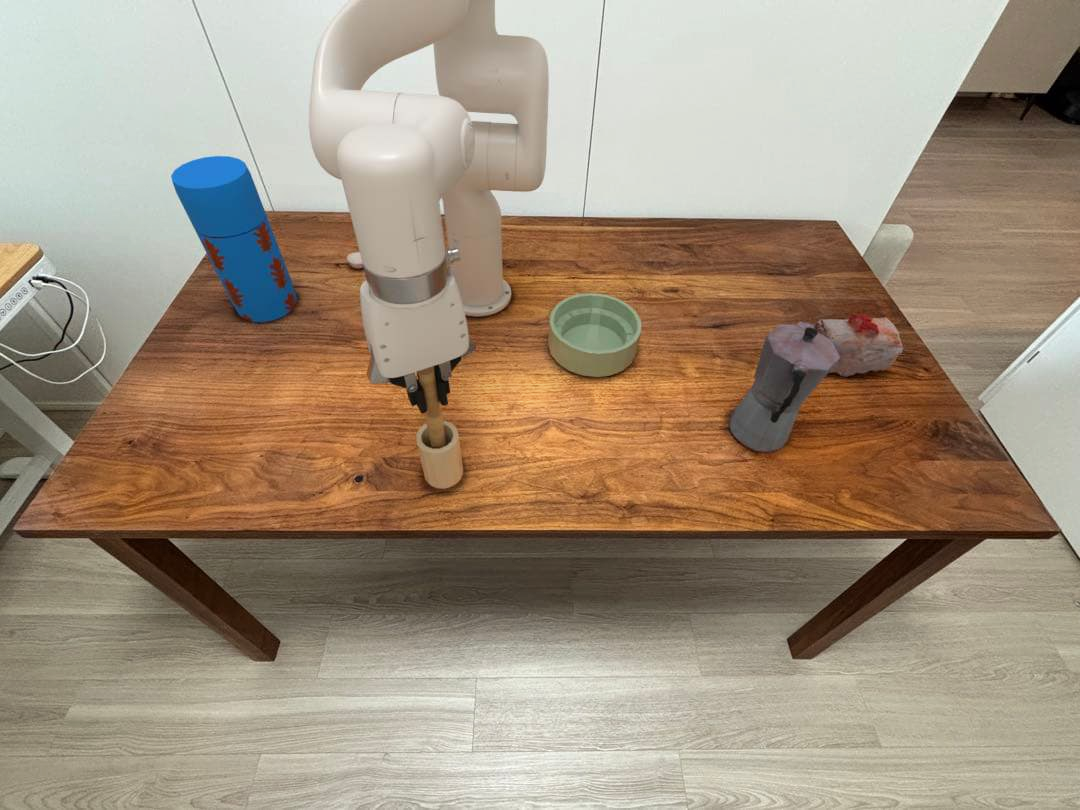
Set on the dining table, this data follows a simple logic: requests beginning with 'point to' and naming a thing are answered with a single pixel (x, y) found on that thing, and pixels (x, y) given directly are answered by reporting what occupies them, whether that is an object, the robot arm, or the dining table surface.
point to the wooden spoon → (432, 407)
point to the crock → (441, 457)
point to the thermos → (236, 235)
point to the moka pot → (782, 385)
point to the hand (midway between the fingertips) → (430, 400)
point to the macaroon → (355, 260)
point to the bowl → (594, 334)
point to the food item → (862, 343)
